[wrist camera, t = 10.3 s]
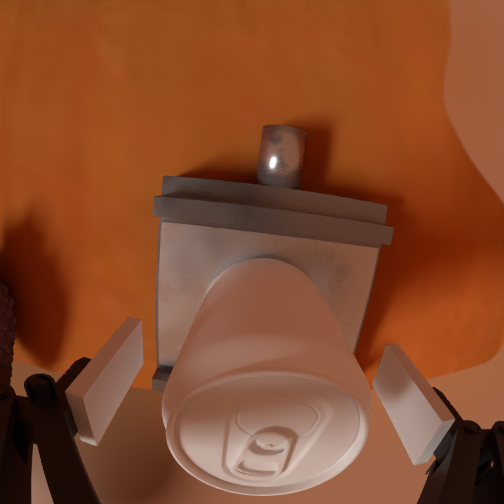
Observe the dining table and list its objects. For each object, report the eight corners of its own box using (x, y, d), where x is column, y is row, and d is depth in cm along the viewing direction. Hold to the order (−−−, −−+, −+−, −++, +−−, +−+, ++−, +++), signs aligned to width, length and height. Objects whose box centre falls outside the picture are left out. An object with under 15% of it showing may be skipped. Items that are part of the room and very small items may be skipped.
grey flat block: (181, 124, 21) (164, 110, 16) (378, 152, 21) (404, 146, 16) (167, 390, 26) (155, 421, 21) (322, 406, 26) (331, 438, 22)
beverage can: (335, 270, 20) (421, 372, 8) (300, 370, 21) (329, 503, 10) (215, 242, 19) (160, 327, 8) (194, 349, 21) (150, 480, 9)
